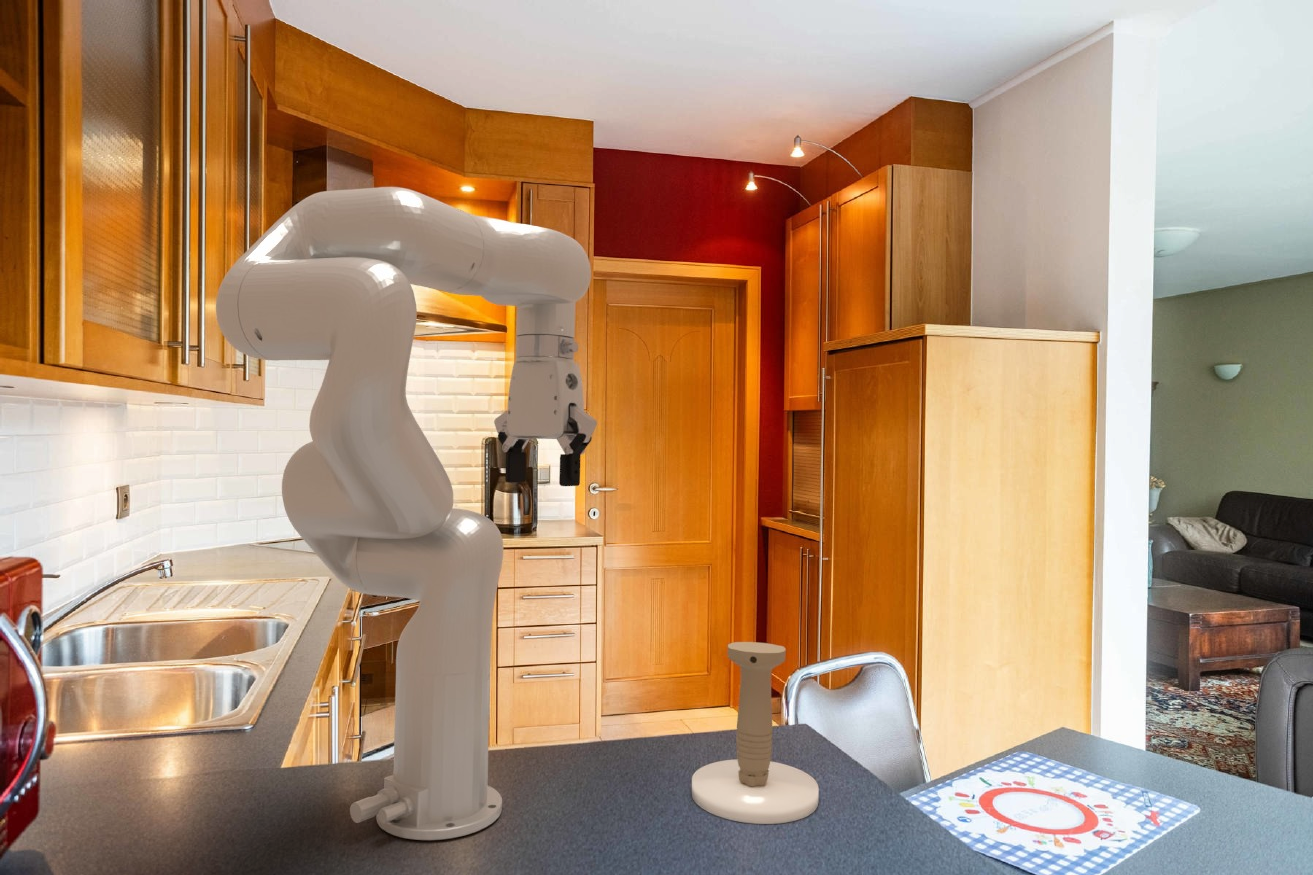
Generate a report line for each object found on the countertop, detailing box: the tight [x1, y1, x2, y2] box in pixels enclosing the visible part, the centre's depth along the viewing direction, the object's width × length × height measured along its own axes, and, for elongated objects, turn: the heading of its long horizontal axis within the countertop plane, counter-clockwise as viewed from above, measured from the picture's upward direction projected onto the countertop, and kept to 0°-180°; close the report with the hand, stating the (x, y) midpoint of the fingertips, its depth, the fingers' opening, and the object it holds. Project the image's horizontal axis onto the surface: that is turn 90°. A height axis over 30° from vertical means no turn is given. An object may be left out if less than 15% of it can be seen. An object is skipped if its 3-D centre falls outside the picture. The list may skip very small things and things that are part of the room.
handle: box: [727, 641, 787, 787], centre depth 95 cm, size 5×6×15 cm
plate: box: [691, 758, 820, 825], centre depth 95 cm, size 14×14×2 cm
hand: (541, 483), depth 111 cm, fingers open, 9 cm apart
